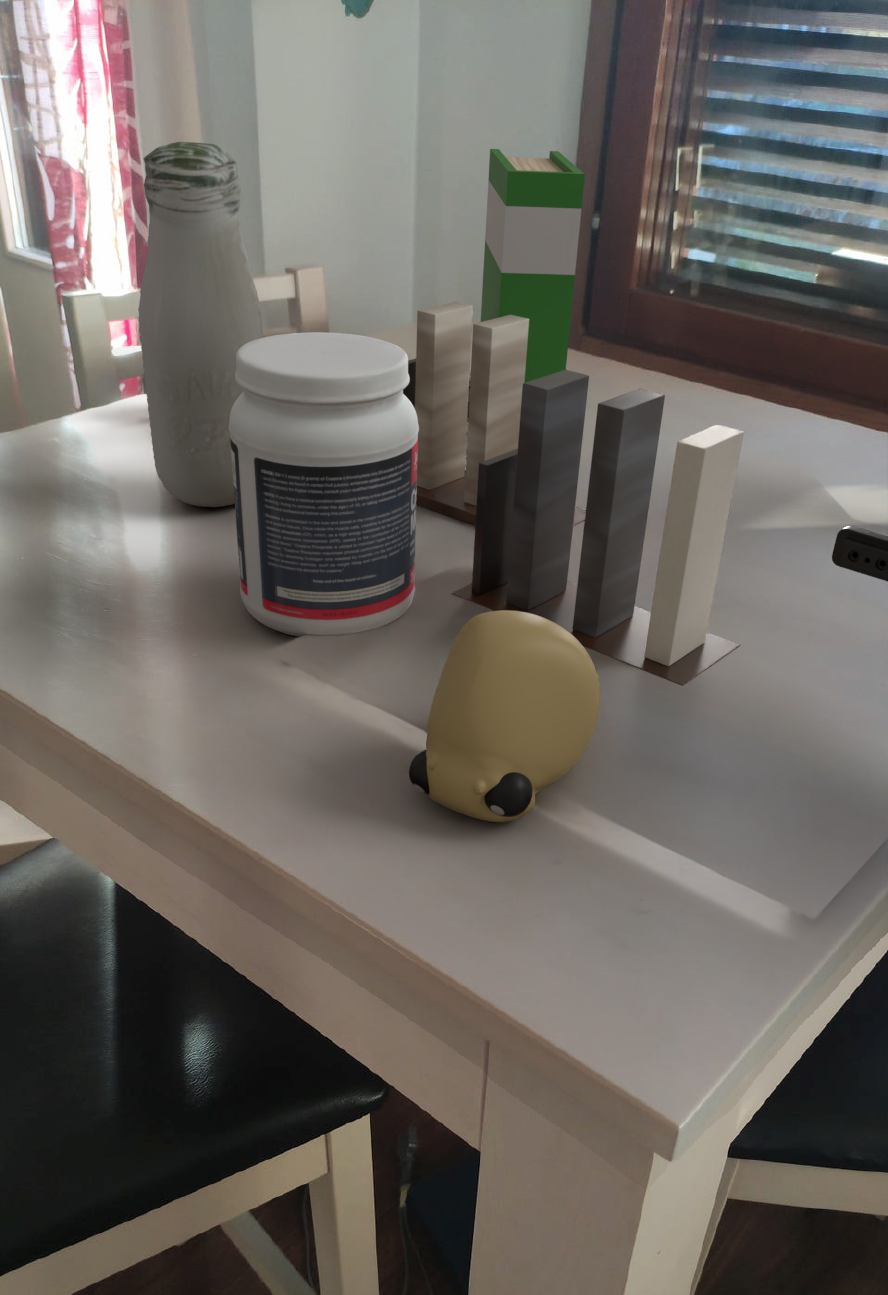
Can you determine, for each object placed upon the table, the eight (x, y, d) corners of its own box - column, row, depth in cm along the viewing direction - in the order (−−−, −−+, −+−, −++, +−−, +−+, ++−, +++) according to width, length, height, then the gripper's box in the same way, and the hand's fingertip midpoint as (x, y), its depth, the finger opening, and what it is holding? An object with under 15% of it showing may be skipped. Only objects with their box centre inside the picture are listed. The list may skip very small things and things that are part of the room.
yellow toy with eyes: (430, 806, 73) (348, 766, 63) (502, 629, 73) (432, 563, 64) (569, 860, 68) (503, 826, 59) (645, 671, 69) (592, 607, 59)
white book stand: (598, 524, 102) (620, 334, 93) (544, 550, 97) (563, 351, 88) (426, 467, 112) (431, 291, 103) (369, 487, 107) (369, 304, 98)
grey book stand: (738, 657, 83) (787, 417, 73) (680, 698, 78) (725, 446, 68) (514, 573, 93) (532, 353, 83) (450, 605, 88) (461, 374, 78)
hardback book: (477, 376, 139) (490, 148, 125) (539, 378, 139) (558, 151, 126) (491, 423, 124) (507, 171, 111) (560, 424, 125) (584, 174, 111)
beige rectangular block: (705, 642, 82) (744, 431, 74) (668, 667, 79) (705, 449, 70) (680, 633, 83) (716, 423, 75) (643, 657, 80) (676, 441, 71)
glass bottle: (158, 526, 98) (118, 149, 82) (157, 483, 106) (120, 132, 90) (276, 521, 100) (259, 151, 84) (266, 479, 108) (249, 135, 92)
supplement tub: (450, 611, 87) (462, 358, 76) (317, 666, 79) (310, 393, 69) (336, 557, 94) (333, 319, 84) (205, 603, 86) (183, 346, 76)
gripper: (1226, 504, 62) (930, 434, 71) (1160, 583, 53) (830, 491, 62) (1171, 630, 67) (898, 549, 75) (1102, 723, 58) (799, 620, 66)
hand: (868, 523), depth 68 cm, fingers open, 8 cm apart
